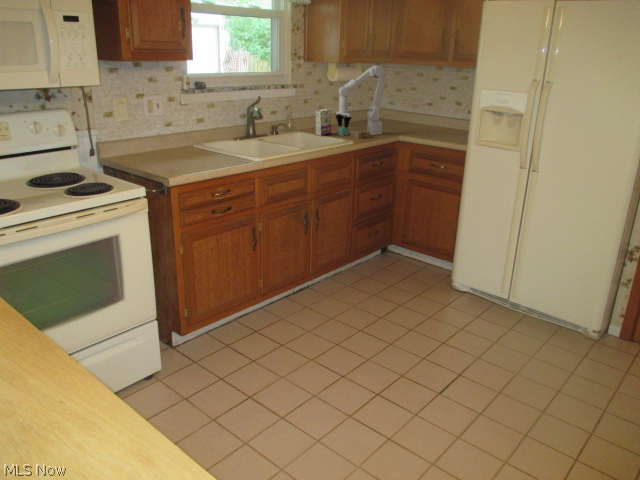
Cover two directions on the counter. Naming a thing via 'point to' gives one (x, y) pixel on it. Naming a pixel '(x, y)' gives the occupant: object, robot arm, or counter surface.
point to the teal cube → (342, 131)
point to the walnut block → (360, 134)
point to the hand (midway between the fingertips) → (343, 126)
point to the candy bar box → (323, 122)
